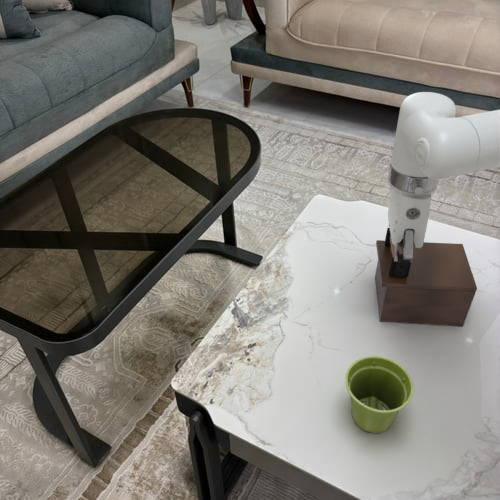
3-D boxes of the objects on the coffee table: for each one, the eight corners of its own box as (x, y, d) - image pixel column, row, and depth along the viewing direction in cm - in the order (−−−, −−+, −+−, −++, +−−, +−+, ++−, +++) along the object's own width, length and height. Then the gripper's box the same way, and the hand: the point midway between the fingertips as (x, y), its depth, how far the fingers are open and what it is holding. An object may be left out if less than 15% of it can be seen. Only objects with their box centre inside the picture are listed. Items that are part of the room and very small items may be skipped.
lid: (381, 286, 85) (385, 266, 82) (375, 243, 94) (379, 223, 91) (476, 291, 83) (483, 271, 80) (461, 247, 92) (467, 227, 89)
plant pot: (370, 456, 71) (379, 424, 66) (327, 408, 78) (332, 375, 72) (416, 423, 75) (428, 389, 70) (372, 379, 81) (379, 345, 76)
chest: (379, 321, 91) (386, 287, 85) (374, 277, 99) (380, 243, 94) (463, 326, 89) (476, 291, 83) (450, 281, 98) (461, 247, 92)
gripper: (449, 209, 70) (424, 297, 82) (430, 148, 83) (411, 231, 95) (394, 206, 71) (377, 294, 83) (384, 146, 84) (370, 229, 96)
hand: (395, 260), depth 89 cm, fingers open, 7 cm apart
